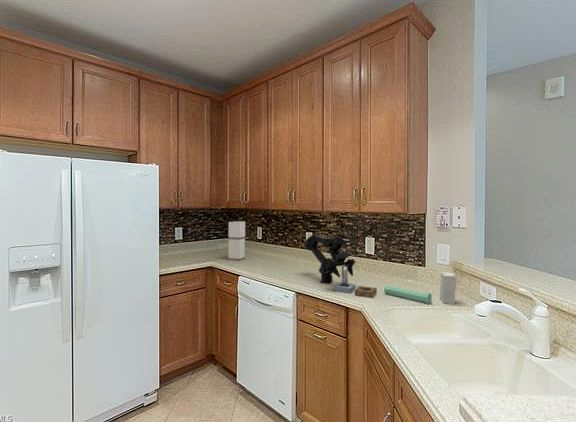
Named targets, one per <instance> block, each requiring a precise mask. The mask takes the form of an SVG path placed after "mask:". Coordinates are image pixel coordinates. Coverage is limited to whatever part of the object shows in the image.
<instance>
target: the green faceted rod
mask: <svg viewBox="0 0 576 422" xmlns="http://www.w3.org/2000/svg"><path fill="white" fill-rule="evenodd" d="M383 289H384V291H383V292H384V293H385V294H386V295H389V296H394V297H399V298H401V299H402V298H403V299H407V300H411V301H414V302H415V301H416V302H419V303H424V304H426V305H430V304H431V302H432V300H433V299H432V298H433V296H432V294H431V292H428V293H427V292H423V291H417V290H412V289H407V288H401V287H397V286H392V285H386V286H385V287H384V288H383ZM429 303H430V304H429Z"/></svg>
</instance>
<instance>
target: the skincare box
mask: <svg viewBox="0 0 576 422" xmlns="http://www.w3.org/2000/svg"><path fill="white" fill-rule="evenodd" d="M456 282H457V276H456V275H455V274H454V273H453V272H447V271H440V284H439V285H440V286H439V287H440V288H439V289H440V290H439V299H440V301H441V302H442V304H448V305H455V303H456V287H457V286H456V285H457V283H456Z"/></svg>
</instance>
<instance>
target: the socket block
mask: <svg viewBox="0 0 576 422" xmlns="http://www.w3.org/2000/svg"><path fill="white" fill-rule="evenodd" d="M355 289H356V283H355V284H354V283H349V282H348V287H345V286H342V281H340V282H338V283H336V284H335V285H334V286H333V292H337V293H343V294H350V295H351V294H352V293H353V292H355Z"/></svg>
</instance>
